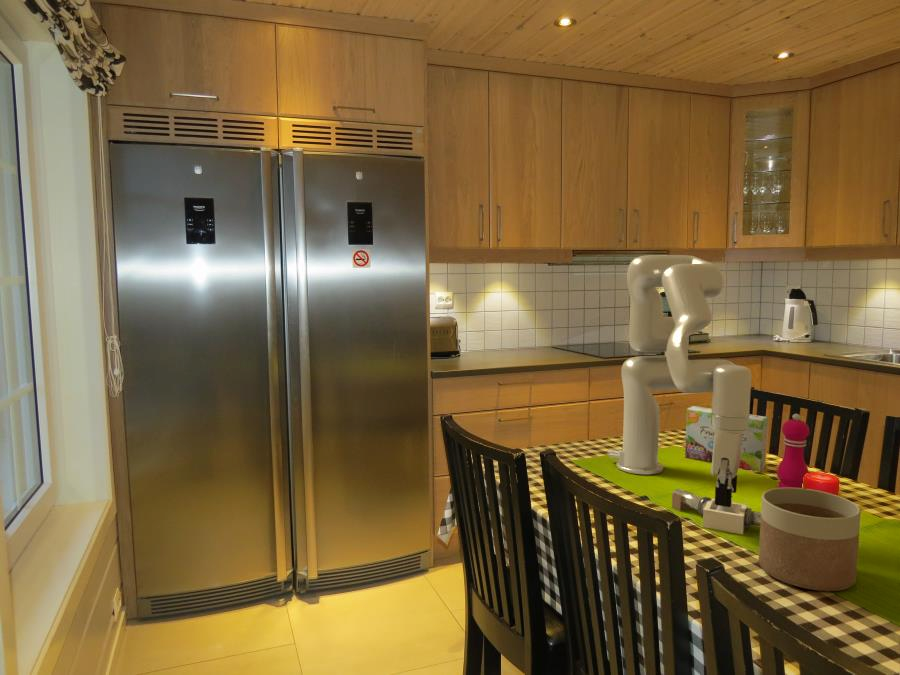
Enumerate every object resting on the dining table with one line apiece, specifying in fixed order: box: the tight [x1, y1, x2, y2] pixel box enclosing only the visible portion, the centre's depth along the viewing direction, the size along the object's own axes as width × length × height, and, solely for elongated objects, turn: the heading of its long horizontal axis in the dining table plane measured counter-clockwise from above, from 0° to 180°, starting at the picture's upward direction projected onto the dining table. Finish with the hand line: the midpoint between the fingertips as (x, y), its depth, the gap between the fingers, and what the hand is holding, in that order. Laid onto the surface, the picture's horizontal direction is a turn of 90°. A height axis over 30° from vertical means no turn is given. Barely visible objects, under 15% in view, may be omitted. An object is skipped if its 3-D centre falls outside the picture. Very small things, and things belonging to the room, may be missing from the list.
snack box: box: [684, 405, 769, 473], centre depth 188 cm, size 21×6×15 cm, turn 49°
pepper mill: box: [776, 413, 810, 488], centre depth 164 cm, size 7×7×20 cm
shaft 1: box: [671, 488, 712, 515], centre depth 152 cm, size 9×4×4 cm, turn 30°
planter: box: [758, 487, 862, 592], centre depth 121 cm, size 16×16×14 cm
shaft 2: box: [744, 507, 761, 528], centre depth 140 cm, size 9×4×4 cm, turn 60°
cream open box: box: [702, 498, 748, 535], centre depth 144 cm, size 8×8×4 cm
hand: (725, 498), depth 144 cm, fingers open, 9 cm apart
